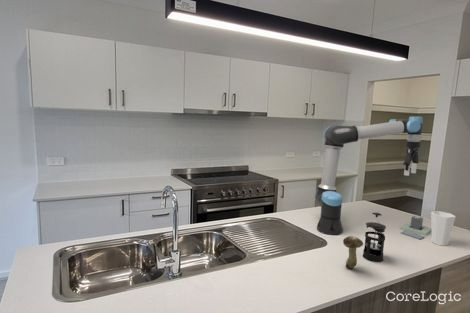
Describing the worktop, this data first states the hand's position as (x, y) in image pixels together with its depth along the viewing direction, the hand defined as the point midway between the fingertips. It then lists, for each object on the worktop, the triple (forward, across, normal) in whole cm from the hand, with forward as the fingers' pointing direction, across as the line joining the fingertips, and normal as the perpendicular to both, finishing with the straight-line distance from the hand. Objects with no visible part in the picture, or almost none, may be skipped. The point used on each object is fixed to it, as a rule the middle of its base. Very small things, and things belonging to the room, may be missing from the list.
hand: (410, 174), depth 186 cm
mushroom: (+35, -81, -2) cm, 89 cm away
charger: (+35, -1, -7) cm, 35 cm away
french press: (+35, -62, -5) cm, 71 cm away
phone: (+35, -14, -8) cm, 39 cm away
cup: (+35, -14, -22) cm, 44 cm away
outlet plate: (+35, -1, -7) cm, 35 cm away
